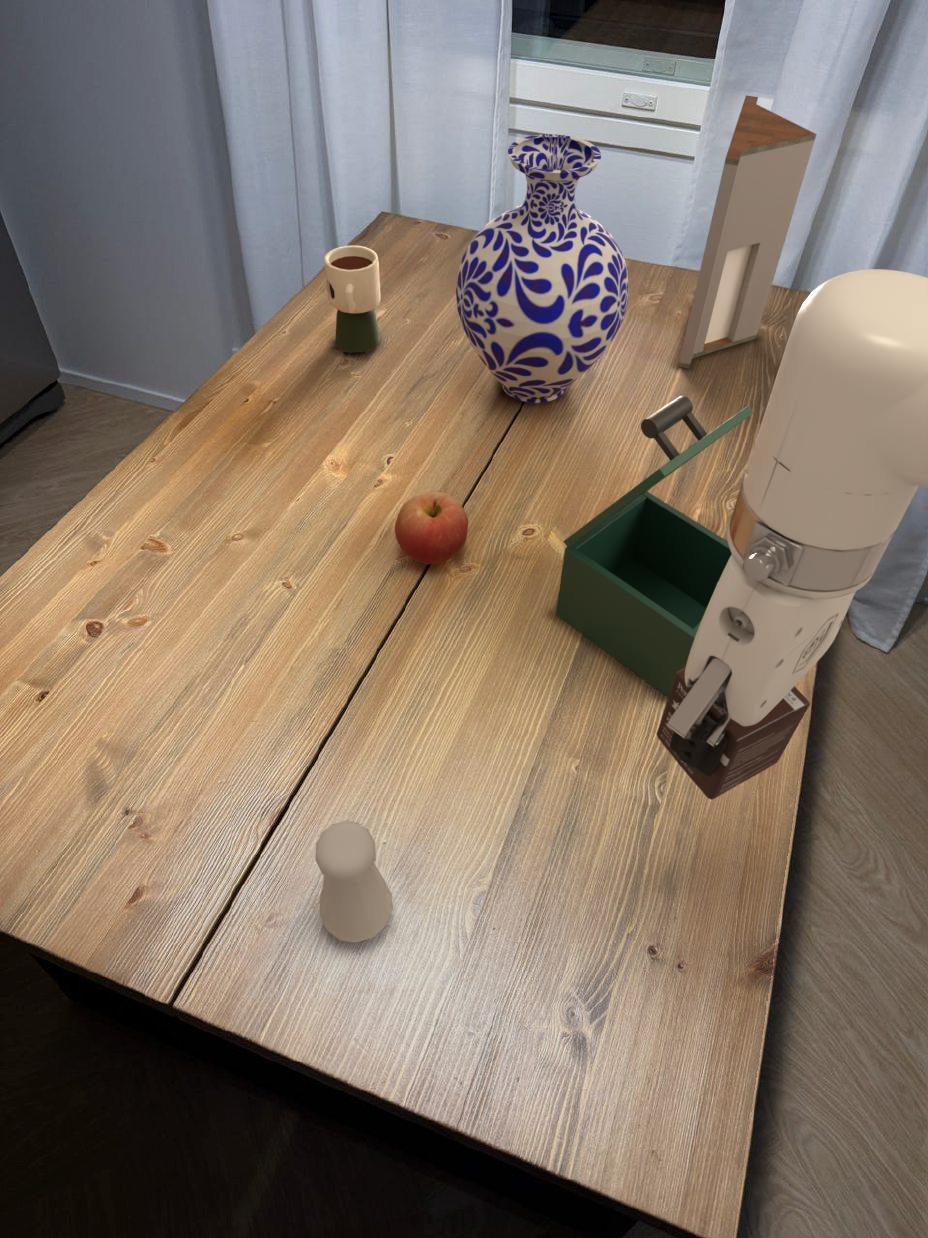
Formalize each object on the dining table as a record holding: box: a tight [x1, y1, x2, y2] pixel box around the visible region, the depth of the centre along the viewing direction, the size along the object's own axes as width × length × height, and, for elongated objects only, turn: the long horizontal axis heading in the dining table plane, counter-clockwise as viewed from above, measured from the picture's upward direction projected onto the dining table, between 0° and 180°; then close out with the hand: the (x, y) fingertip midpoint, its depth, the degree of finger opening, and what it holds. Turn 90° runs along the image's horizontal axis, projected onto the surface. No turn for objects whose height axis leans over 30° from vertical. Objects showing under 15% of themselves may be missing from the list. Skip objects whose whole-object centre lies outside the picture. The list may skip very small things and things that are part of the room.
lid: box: [562, 395, 754, 548], centre depth 82 cm, size 17×13×5 cm
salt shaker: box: [315, 820, 393, 944], centre depth 67 cm, size 6×6×13 cm
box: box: [655, 668, 811, 801], centre depth 58 cm, size 6×6×7 cm
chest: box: [555, 491, 732, 698], centre depth 90 cm, size 16×13×10 cm
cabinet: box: [677, 95, 817, 369], centre depth 120 cm, size 21×10×28 cm, turn 162°
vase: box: [455, 133, 630, 404], centre depth 110 cm, size 22×22×30 cm
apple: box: [394, 491, 469, 565], centre depth 97 cm, size 8×8×8 cm
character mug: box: [323, 245, 381, 353], centre depth 122 cm, size 11×7×13 cm, turn 179°
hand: (726, 723), depth 58 cm, fingers closed on box, 7 cm apart
